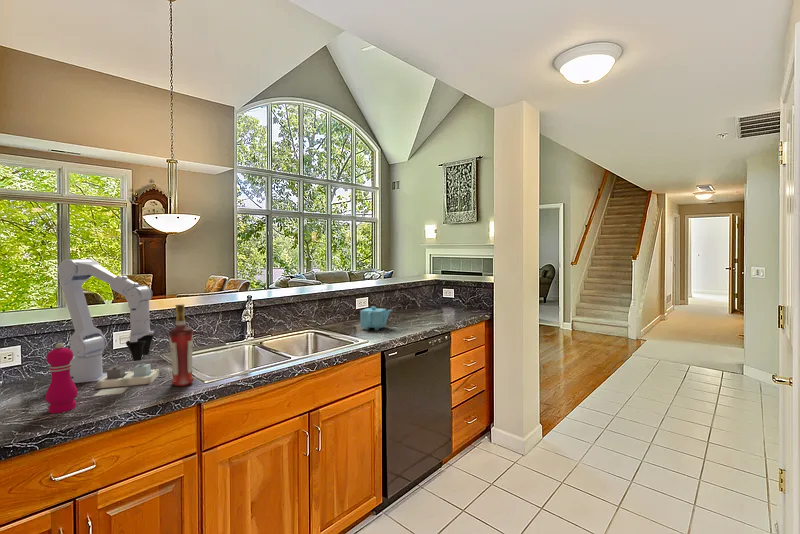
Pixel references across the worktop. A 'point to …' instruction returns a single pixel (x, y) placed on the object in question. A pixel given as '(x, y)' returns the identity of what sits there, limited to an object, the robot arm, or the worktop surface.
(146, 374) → the plug
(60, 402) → the pepper mill
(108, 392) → the mat
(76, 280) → the robot arm
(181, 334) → the liquor
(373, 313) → the teapot
